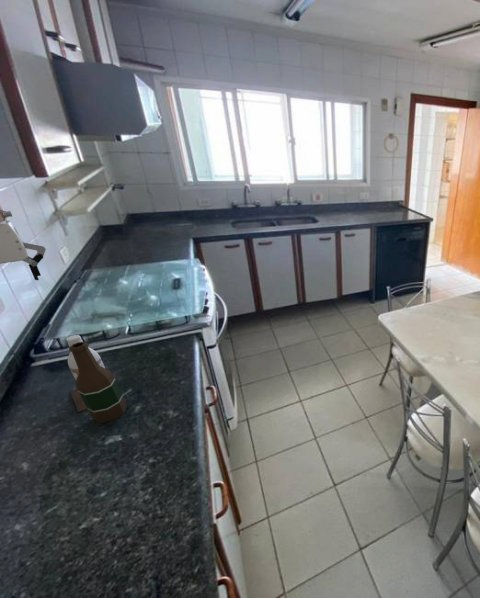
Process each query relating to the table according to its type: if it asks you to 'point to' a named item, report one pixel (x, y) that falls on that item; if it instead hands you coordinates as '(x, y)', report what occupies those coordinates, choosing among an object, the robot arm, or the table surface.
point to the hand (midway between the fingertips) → (10, 283)
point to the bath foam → (71, 360)
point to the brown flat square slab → (79, 400)
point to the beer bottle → (97, 386)
